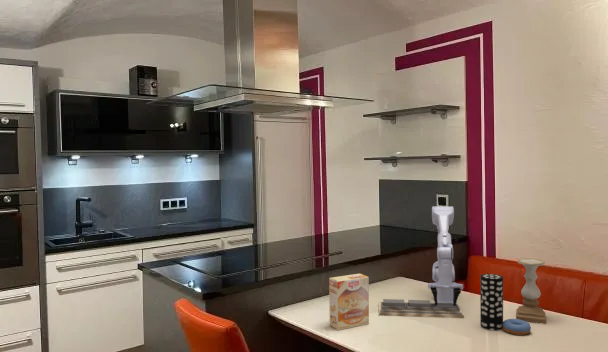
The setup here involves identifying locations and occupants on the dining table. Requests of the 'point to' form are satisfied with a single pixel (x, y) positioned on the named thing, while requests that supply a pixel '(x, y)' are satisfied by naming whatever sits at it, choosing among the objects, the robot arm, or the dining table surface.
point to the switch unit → (420, 311)
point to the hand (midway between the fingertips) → (445, 305)
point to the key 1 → (393, 302)
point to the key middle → (419, 303)
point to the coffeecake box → (349, 301)
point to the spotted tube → (491, 301)
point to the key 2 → (444, 305)
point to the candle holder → (531, 294)
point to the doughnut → (516, 326)
